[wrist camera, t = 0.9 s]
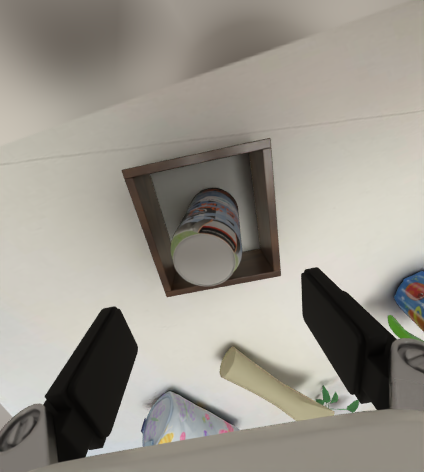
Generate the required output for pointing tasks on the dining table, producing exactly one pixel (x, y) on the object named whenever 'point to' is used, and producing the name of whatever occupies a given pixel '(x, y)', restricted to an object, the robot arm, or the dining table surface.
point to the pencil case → (180, 421)
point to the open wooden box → (154, 228)
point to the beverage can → (208, 239)
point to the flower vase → (275, 388)
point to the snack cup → (410, 304)
